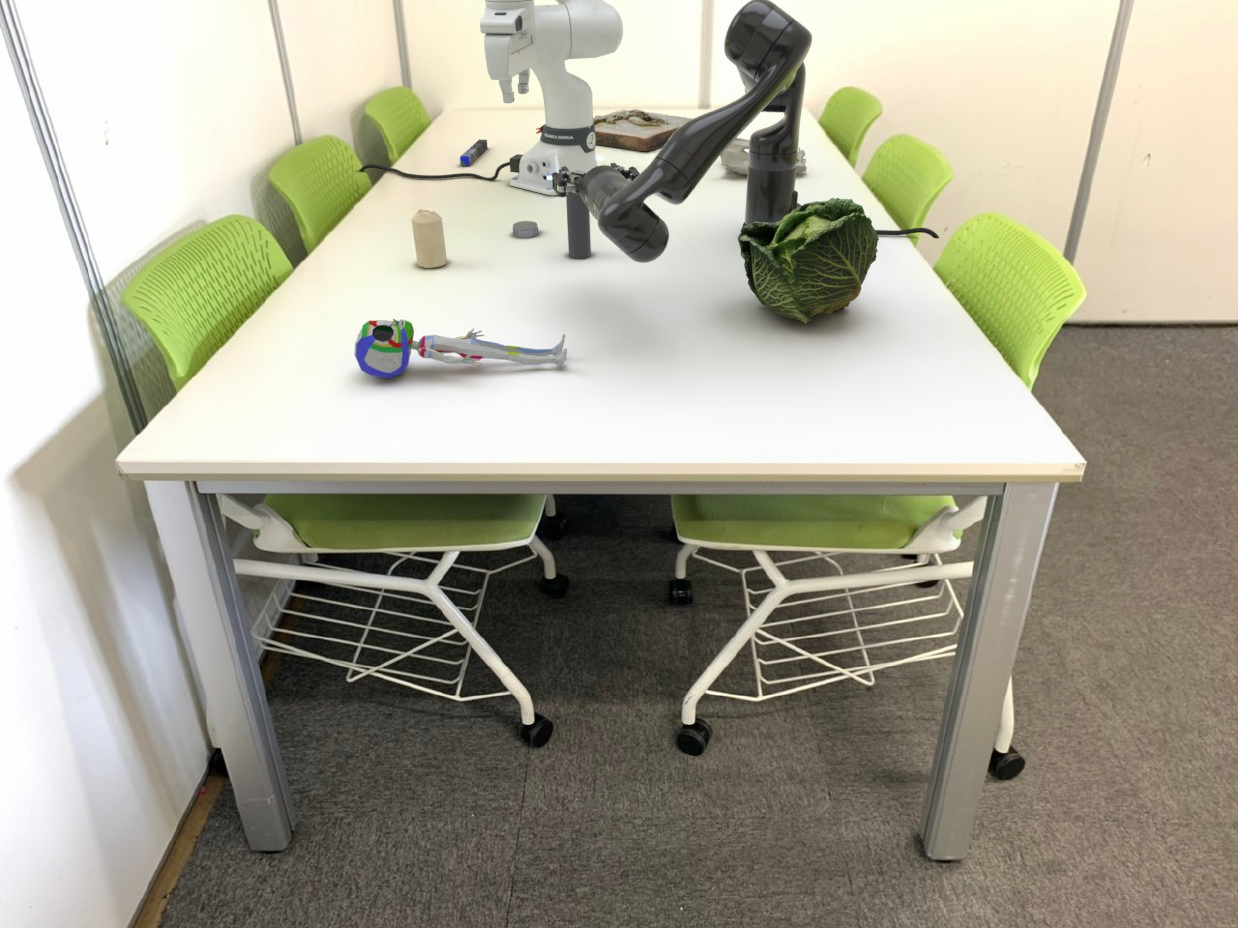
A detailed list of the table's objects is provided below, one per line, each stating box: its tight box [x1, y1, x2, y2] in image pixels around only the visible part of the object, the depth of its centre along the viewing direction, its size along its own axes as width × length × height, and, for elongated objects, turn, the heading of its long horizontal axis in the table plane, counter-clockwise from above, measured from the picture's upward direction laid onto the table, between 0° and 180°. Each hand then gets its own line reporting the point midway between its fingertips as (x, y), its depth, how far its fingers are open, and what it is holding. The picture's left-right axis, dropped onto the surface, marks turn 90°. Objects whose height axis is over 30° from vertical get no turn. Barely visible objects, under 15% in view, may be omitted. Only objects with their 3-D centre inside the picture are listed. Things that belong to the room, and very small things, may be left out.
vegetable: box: [737, 197, 879, 325], centre depth 143 cm, size 20×19×20 cm
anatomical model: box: [719, 136, 808, 176], centre depth 220 cm, size 15×9×25 cm
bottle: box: [565, 176, 592, 260], centre depth 169 cm, size 4×4×15 cm
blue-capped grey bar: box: [459, 139, 488, 167], centre depth 240 cm, size 2×2×20 cm
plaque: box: [593, 108, 694, 152], centre depth 257 cm, size 30×7×30 cm
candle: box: [411, 209, 448, 269], centre depth 167 cm, size 6×6×10 cm
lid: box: [512, 220, 539, 239], centre depth 184 cm, size 5×5×2 cm
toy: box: [353, 318, 568, 379], centre depth 130 cm, size 10×8×30 cm
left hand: (516, 98), depth 171 cm, fingers open, 8 cm apart
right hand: (588, 170), depth 153 cm, fingers open, 8 cm apart
